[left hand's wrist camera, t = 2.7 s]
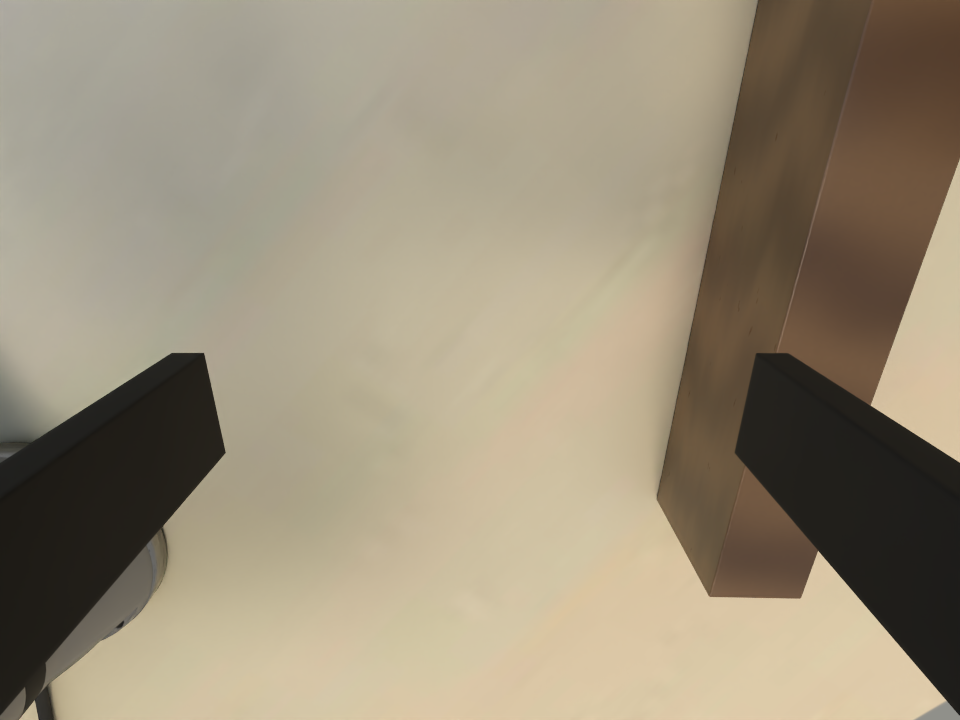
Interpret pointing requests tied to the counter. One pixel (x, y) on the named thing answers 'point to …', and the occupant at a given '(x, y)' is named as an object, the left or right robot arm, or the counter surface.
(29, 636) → the left robot arm
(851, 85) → the beam
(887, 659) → the counter surface
